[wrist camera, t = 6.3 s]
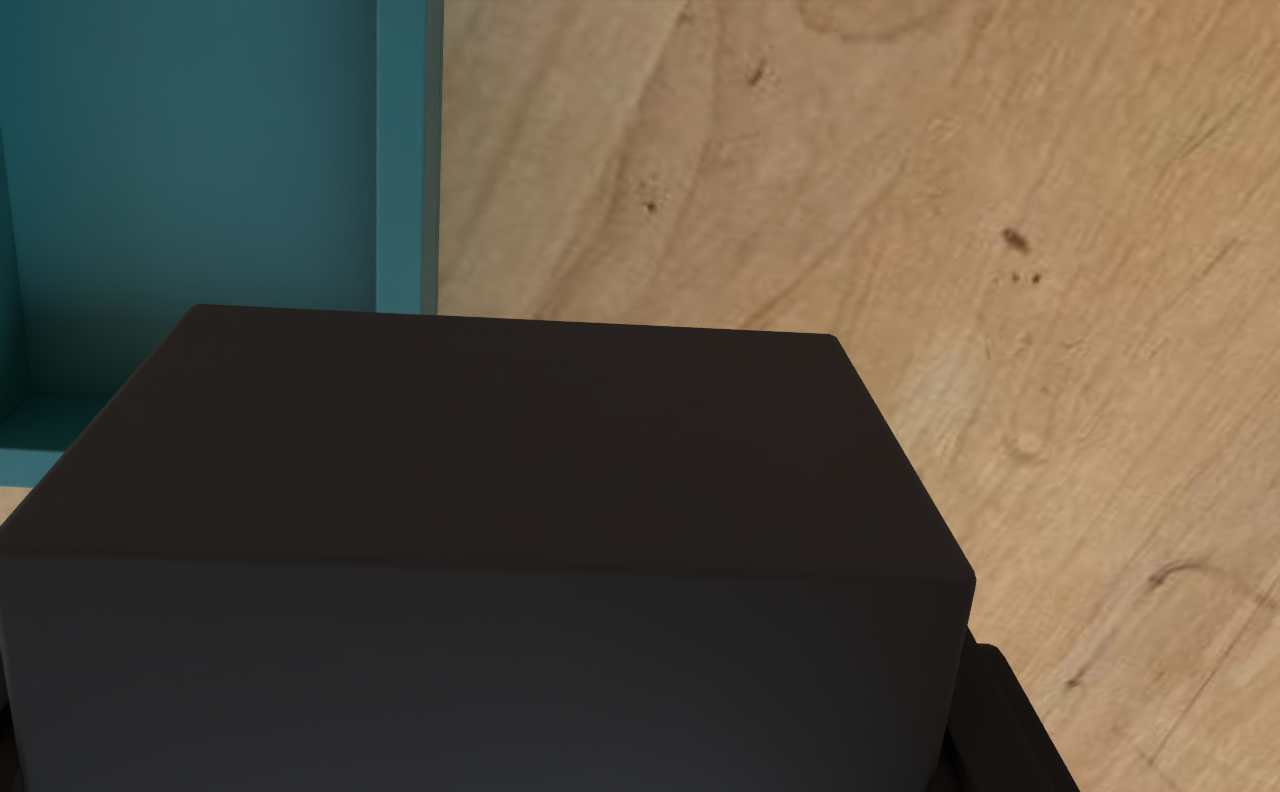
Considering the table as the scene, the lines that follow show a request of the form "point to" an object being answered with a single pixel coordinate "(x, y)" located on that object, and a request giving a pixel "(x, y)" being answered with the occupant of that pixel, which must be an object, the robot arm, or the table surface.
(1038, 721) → the robot arm
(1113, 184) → the table surface
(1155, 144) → the table surface
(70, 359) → the holder
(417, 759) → the dark grey block
